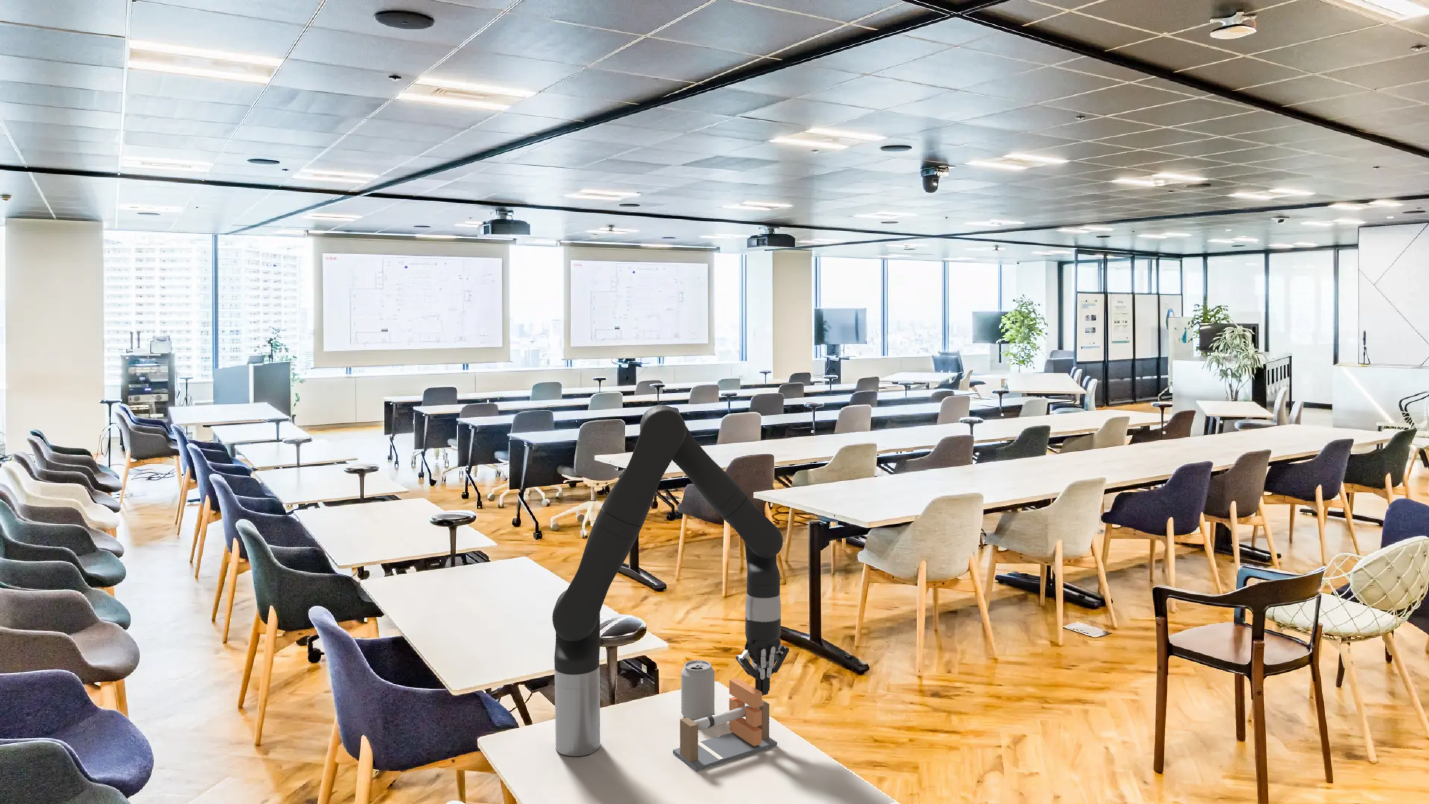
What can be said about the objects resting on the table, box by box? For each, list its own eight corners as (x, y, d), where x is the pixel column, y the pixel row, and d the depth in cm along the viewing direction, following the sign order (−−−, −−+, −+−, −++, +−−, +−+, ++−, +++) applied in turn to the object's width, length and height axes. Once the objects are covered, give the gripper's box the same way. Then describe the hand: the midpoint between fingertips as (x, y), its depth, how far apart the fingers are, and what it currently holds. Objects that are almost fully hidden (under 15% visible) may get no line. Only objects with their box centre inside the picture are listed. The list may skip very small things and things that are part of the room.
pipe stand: (696, 771, 179) (696, 731, 179) (672, 753, 187) (672, 714, 186) (777, 745, 190) (777, 707, 190) (751, 729, 198) (752, 693, 197)
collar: (753, 746, 187) (754, 694, 186) (729, 729, 195) (729, 679, 194) (761, 743, 188) (762, 692, 187) (736, 727, 196) (737, 678, 195)
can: (677, 721, 202) (677, 668, 201) (686, 707, 210) (686, 656, 209) (710, 724, 201) (710, 671, 200) (717, 710, 208) (718, 659, 207)
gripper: (777, 604, 199) (776, 681, 200) (727, 615, 191) (726, 695, 193) (798, 613, 192) (797, 693, 194) (747, 624, 185) (747, 707, 186)
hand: (762, 694), depth 193 cm, fingers closed
